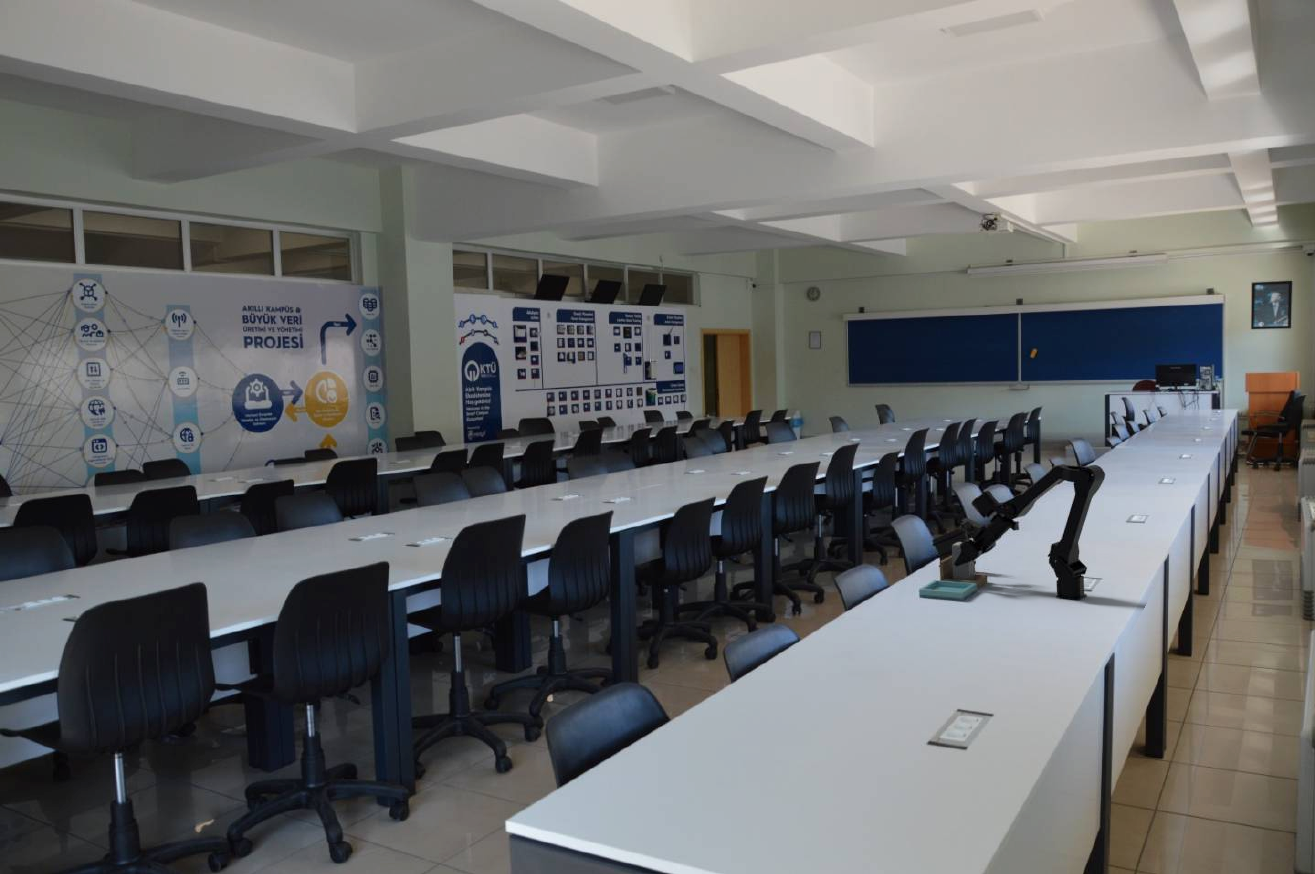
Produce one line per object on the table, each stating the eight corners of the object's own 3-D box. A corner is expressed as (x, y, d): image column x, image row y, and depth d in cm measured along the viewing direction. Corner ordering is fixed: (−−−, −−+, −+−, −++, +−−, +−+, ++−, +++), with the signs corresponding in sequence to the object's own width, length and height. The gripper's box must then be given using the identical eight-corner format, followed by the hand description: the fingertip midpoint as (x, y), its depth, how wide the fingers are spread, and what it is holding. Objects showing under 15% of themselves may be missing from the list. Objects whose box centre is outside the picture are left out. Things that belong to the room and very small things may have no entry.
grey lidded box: (974, 583, 305) (973, 542, 305) (969, 587, 301) (967, 545, 300) (959, 582, 308) (957, 541, 308) (953, 586, 304) (951, 544, 303)
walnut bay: (987, 582, 306) (986, 557, 306) (976, 590, 297) (975, 564, 296) (952, 579, 313) (951, 555, 312) (940, 587, 303) (939, 561, 303)
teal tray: (977, 591, 296) (976, 583, 295) (962, 601, 285) (962, 593, 284) (935, 587, 303) (934, 580, 303) (919, 597, 292) (919, 589, 292)
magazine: (983, 569, 318) (961, 527, 320) (946, 584, 324) (925, 543, 326) (985, 566, 321) (963, 525, 323) (949, 581, 327) (928, 541, 330)
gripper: (984, 505, 308) (951, 538, 315) (965, 514, 293) (930, 548, 300) (1010, 531, 304) (976, 564, 311) (992, 542, 289) (957, 576, 296)
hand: (959, 562), depth 305 cm, fingers open, 9 cm apart
